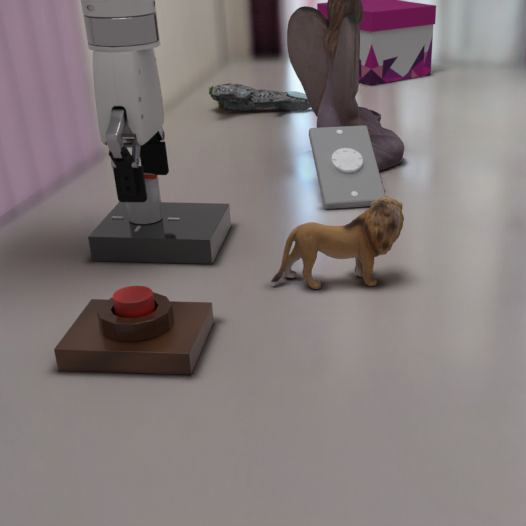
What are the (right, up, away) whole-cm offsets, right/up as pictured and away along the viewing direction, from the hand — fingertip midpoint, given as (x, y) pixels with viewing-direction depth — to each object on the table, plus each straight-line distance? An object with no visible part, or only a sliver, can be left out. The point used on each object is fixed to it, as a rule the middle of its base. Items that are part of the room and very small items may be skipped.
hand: (145, 187), depth 94 cm
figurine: (+24, +11, +34) cm, 43 cm away
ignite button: (+4, -15, -20) cm, 26 cm away
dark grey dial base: (+2, -6, +3) cm, 7 cm away
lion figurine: (+23, -11, -5) cm, 26 cm away
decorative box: (+30, +45, +93) cm, 108 cm away
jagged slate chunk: (+7, +27, +61) cm, 67 cm away
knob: (0, -3, +2) cm, 4 cm away
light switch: (+24, +3, +20) cm, 31 cm away
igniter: (+4, -19, -18) cm, 27 cm away
